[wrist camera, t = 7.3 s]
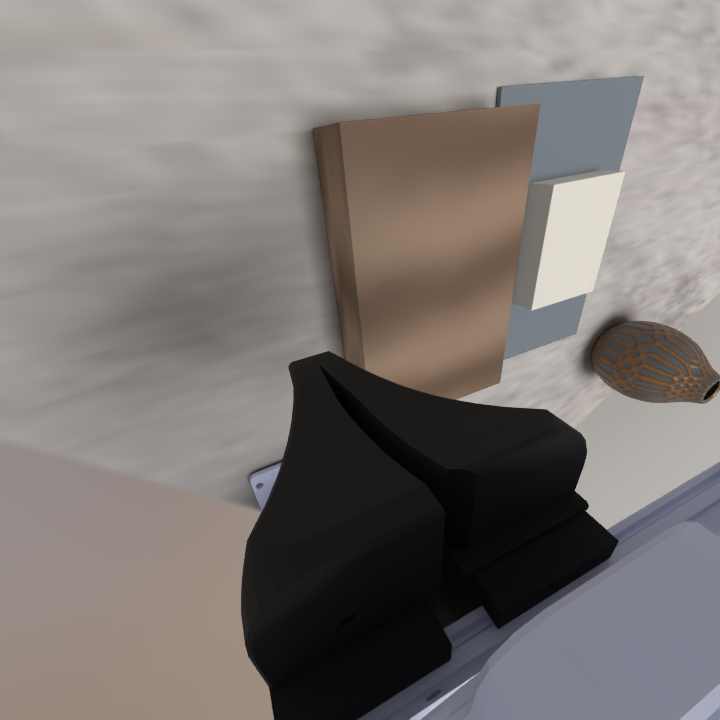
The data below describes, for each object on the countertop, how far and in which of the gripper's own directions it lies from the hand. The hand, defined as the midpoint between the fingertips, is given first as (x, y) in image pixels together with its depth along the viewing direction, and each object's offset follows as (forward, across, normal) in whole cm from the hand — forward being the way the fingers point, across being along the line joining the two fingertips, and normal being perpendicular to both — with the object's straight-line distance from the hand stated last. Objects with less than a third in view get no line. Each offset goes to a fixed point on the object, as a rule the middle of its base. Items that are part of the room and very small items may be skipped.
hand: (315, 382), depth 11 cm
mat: (+9, -20, +1) cm, 22 cm away
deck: (+9, -9, +1) cm, 13 cm away
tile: (+7, -20, +1) cm, 22 cm away
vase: (+10, -31, +13) cm, 35 cm away
